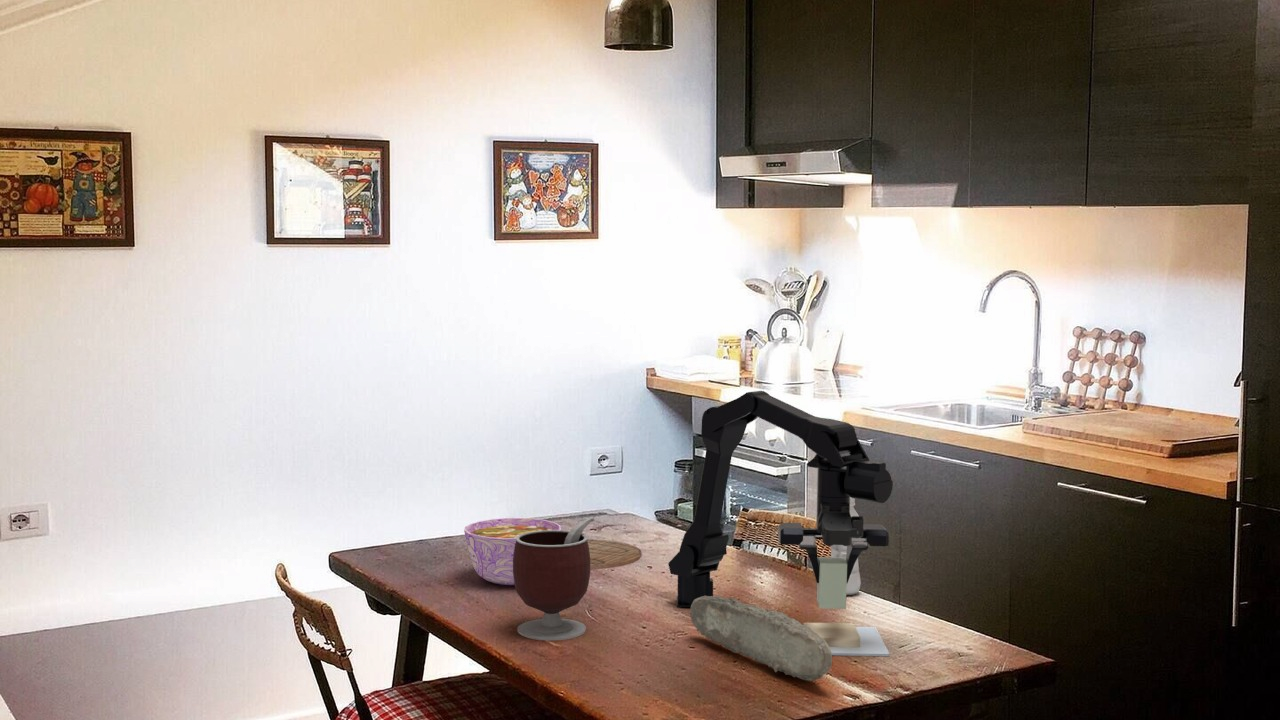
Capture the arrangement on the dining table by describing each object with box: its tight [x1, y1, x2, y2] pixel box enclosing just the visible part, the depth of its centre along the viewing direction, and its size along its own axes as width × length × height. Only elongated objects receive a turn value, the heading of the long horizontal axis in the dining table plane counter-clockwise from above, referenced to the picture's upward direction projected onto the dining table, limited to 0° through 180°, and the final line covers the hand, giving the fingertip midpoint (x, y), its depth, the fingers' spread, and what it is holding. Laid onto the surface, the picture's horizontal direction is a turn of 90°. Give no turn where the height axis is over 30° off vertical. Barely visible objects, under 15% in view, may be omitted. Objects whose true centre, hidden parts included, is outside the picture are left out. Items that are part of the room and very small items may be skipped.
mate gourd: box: [513, 516, 595, 641], centre depth 233 cm, size 16×14×20 cm
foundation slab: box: [802, 622, 860, 647], centre depth 228 cm, size 9×9×2 cm
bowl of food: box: [463, 517, 562, 586], centre depth 267 cm, size 20×20×12 cm
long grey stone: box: [690, 595, 833, 682], centre depth 215 cm, size 35×5×10 cm, turn 36°
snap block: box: [816, 556, 847, 610], centre depth 227 cm, size 5×5×8 cm
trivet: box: [587, 539, 643, 570], centre depth 289 cm, size 25×25×2 cm
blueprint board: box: [830, 626, 891, 657], centre depth 228 cm, size 18×16×1 cm
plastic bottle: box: [830, 497, 862, 596], centre depth 259 cm, size 6×7×20 cm
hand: (831, 582), depth 227 cm, fingers closed on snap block, 5 cm apart
